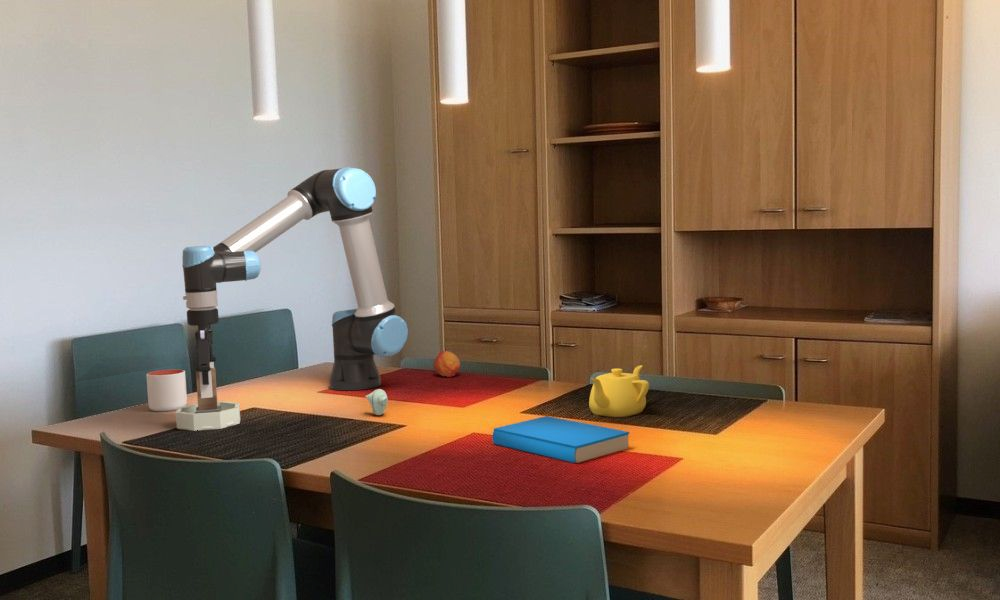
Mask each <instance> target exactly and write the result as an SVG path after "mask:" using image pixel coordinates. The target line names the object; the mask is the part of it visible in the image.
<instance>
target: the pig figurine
mask: <svg viewBox="0 0 1000 600" xmlns="http://www.w3.org/2000/svg"><path fill="white" fill-rule="evenodd" d="M365 398H366V399H367V400H368V402H369V404H370V408H371V410H372V412H373V413H374V414H375V415H376V416H381V415H383V413H384V412H385V410H386V408H387V405H388V402H389V400H388V395H387V393H386V391H385V390H384V389H381V388H378V389H375V390H373V391H372V392H371V393H369V394H367V395H365Z"/></svg>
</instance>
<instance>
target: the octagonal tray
mask: <svg viewBox="0 0 1000 600" xmlns="http://www.w3.org/2000/svg"><path fill="white" fill-rule="evenodd" d="M217 406H218V409H212V410H199V411H198V402H196V403H191V404H189V405H186V406H183V407H179V408H178V409H177V410H175V418H176V421H175V422H176V429H178V430H184V431H194V432H196V431H197V430H198V431H209V430H211V431H212V430H220V429H224V428H229V427H232V426H233V427H234V426H235V425H238V424H240V423H241V408H240V402H234V401H233V402H231V401H220V400H219V401H217ZM198 431H197V432H198Z"/></svg>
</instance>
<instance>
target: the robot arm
mask: <svg viewBox="0 0 1000 600" xmlns="http://www.w3.org/2000/svg"><path fill="white" fill-rule="evenodd" d="M376 189H377V188H376V185H375V182H374V180H373V178H372V177H371V176H370V175H369V174H368V172H366V171H364V170H363V169H360V168H356V167H342V168H334V169H324V170H321V171H318V172H316V173H314V174H313V175H310V177H308V178H306V179H305V180H303V181H302V182H299V184H297V185H296V186H295V187H293V188H291V189H290V190H289V191H288V192H287V196H286V197H285V198H284V199H282V200H280V201H279V202H278V203H276V204H274V206H272V207H270V208H269V209H268V210H266V211H265V212H263V213H261V214H260V215H258V216H257V217H256V218H254V219H252V221H250V222H249V223H247V224H245V225H244V226H242V227H241V228H240V229H238V230H237V231H236V232H234V233H232V234H231V235H230V236H228V237H226V238H225V239H224V240H222V241H220V243H218V244H216V245H215V246H212V245H198V246H186V247H185V248H183V250H182V271H183V279H184V291H185V295H184V296H182V300H184V301H185V305H186V306H185V307H186V308H187V309H188V310H187V311H186V323H187V325H188V326H193V327H194V326H197V328H198V329H197V330H196V331H195V335H194V336H195V340H196V348H197V355H198V356H197V357H198V367H197V368H195V373H196V372H199V375H200V389H201V398H210V397H213V391H212V378H211V371H210V370H211V368H215V365H214V362H217V357H215V356H214V353H213V345H214V344H213V334H214V332H213V330H211V325H216V324H218V323H219V321H220V320H219V319H220V318H219V309H218V308H217V307H218V305H219V304H218V303H219V302H218V290H217V283H218V284H220V283H228V282H239V281H240V282H241V281H245V282H247V281H251V280H255V279H257V278H258V277H259V275H260V273H261V265H262V264H261V260H260V259H261V258H260V257H259V255H258V253H257V252H259V251H260V250H261V249H263V248H265V246H267V245H269V244H270V243H272V241H274V240H276V239H277V238H279V237H280V236H281V235H283V234H284V233H286V232H288V231H289V230H290V229H291V228H293V227H294V226H296V225H297V224H299V223H300V222H301V221H303V220H305V221H307V220H311V219H312V218H314V217H316V216H317V215H319V214H322V213H326V212H329V214H330V218H331V222H332V223H334V224H336V225H337V226H338V228H339V231H340V232H339V233H340V237H341V240H342V241H341V242H342V246H343V248H344V253H345V257H346V263H347V265H348V270H349V274H350V278H351V282H352V287H353V292H354V295H355V300H356V303H357V308H354V309H353V308H352V309H345V310H338V311H335V312H334V313H333V314H332V319H331V326H332V340H333V341H332V342H333V357H334V358H333V361H334V362H333V366H332V368H331V369H332V370H331V373H330V377H329V382H328V383H329V389H332V390H334V391H335V390H336V391H361V390H367V389H369V390H370V389H373V388H378V387H380V386H381V385H382V381H381V380H382V379H381V374H380V373H379V370H378V367H377V363H376V362H375V358H374V356H378V357H391V356H394V355H397V354H398V353H399V352H401V351H402V350H403V349H404V347H405V344H406V343H407V339H408V338H409V337H408V336H409V329H408V325H407V323H406V321H405V320H404V319H403V318H402V317H401V316H398V315H397V314H398V313H397V311H396V307H395V303H393V302H391V301H390V300H389V299H388V295H387V291H386V287H385V282H384V279H383V278H384V277H383V273H382V269H381V265H380V261H379V256H378V253H377V248H376V244H375V239H374V236H373V230H372V226H371V223H370V217H371V216H372V214H373V213H374V211H373V204H374V202H375V199H376V197H377V190H376Z"/></svg>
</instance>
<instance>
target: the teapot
mask: <svg viewBox="0 0 1000 600" xmlns="http://www.w3.org/2000/svg"><path fill="white" fill-rule="evenodd" d="M642 368H643V365H637V366H636V367H635V368H634V369H633V371H632V373H630V372H628V373H627V372H623V371H624V370H623V368H611V372H608V373H604V374H600V375H597V376H596V377H595V378H594V377H593V378H592V377H591V378H590V379H591V380H592V382H593V384H592V388H591V390H590V394H589V399H588V400H589V401H588V404H589V405H588V406H589V409H590V412H591V413H592V414H593V415H595V416H603V417H611V418H626V417H630V416H634V415H638V414H640V413H642V412H643V411H644V409H645V408H646V404H647V399H646V398H647V397H646V396H647V393H648V391H649V390H650V389H649V388H650V383H649V381H647V380H645V379H641V378H640V377H641V374H640V372H641V370H642Z"/></svg>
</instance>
